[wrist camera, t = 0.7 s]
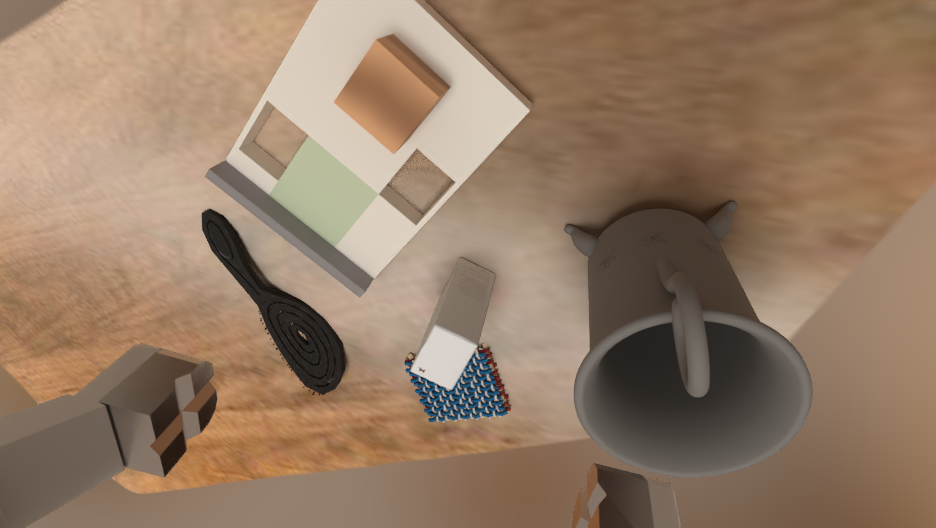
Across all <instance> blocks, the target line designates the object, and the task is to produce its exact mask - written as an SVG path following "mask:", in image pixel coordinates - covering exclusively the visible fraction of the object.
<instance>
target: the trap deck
mask: <svg viewBox="0 0 936 528" xmlns="http://www.w3.org/2000/svg"><path fill="white" fill-rule="evenodd" d="M391 34H394V35H395V36H396V37H397V38H398V39H399V40H401V41H402V42H403V43H404V44H405V45H406V46H407V47H408V48H409V49H410V50H411V51H412V52H414V53H415V54H416V55H417V56H418V57H419V58H420V59H421V60H422V61H423V62H424V63H425V64H426V65H428V66H429V67H430V68H431V69H432V70H433V71H434V72H435V73H436V74H437V75H438V76H439V77H440V78H442V79H443V80H444V81H445V82H446V83H447V84H448V85H449V86H450V87H451V88H450V89H449V90H448V91H447V92H446V94H445V95H444V96H443V97H442V99H441V100H440V101H439V102H438V104H437V105H436V106H435V107H434V109H433V110H432V111H431V112H430V114H429V115H428V116H427V117H426V119H425V120H424V121H423V122H422V123H421V125H420V126H419V127H418V128H417V130H416V131H415V132H414V133H413V135H412V136H411V137H410V138H409V140H408V141H407V142H406V143H405V144H404V145H403V146H402V147H401V148H400V149H399V150H398V151H397V152H396V153H395V154H393V153H391V152H390V151H389V150H388V149H387V148H386V147H385V146H383V145H382V144H381V143H380V142H379V141H378V140H376V139H375V138H374V137H373V136H372V135H371V134H370V133H368V132H367V131H366V130H365V129H364V128H363V127H361V126H360V125H359V124H358V123H357V122H356V121H355V120H353V119H352V118H351V117H350V116H349V115H348V114H346V113H345V112H344V111H343V110H342V109H341V108H340V107H338V106H337V105H336V104H335V103H334V101H335V99H336V98H337V96H338V95H339V93H340V92H341V90H342V89H343V88H344V86H345V85H346V83H347V82H348V80H349V79H350V77H351V76H352V74H353V73H354V71H355V70H356V68H357V67H358V65H359V64H360V62H361V61H362V59H363V58H364V56H365V55H366V53H367V52H368V50H369V49H370V47H371V46H372V44H373V43H374V42H375V40H376V39H378V38H381V37H384V36H388V35H391ZM274 107H276V108H277V109H278V110H279V111H280V112H281V113H283V114H284V115H285V116H286V117H287V118H289V119H290V120H291V121H292V122H293V123H295V124H296V125H297V126H298V127H299V128H301V129H302V130H303V131H304V132H305V133H306V134H308V135H309V136H308V137H307V139H306V140H305V142H304V143H303V145H302V146H301V148H300V149H299V151H298V152H297V154H296V155H295V157H294V158H293V160H292V161H291V163H290V164H289V166H288V167H287V169H286V168H285V167H284V166H283V165H281V164H280V163H279V162H278V161H276V160H275V159H274V158H273V157H272V156H270V155H269V154H268V153H267V152H265V151H264V150H263V149H262V148H260V147H259V146H258V145H257V144H256V143H254V142H253V141H254V139H255V138H256V136H257V134H258V133H259V131H260V129H261V128H262V126H263V124H264V123H265V121H266V119H267V118H268V116H269V114H270V113H271V111H272V109H273V108H274ZM531 107H532V103H531V102H530V101H529V100H528V99H527V98H526V97H525V96H524V95H523V94H522V93H521V92H520V91H519V90H518V89H517V88H515V87H514V86H513V85H512V84H511V83H510V82H509V81H508V80H507V79H506V78H505V77H504V76H503V75H502V74H501V73H500V72H499V71H498V70H497V69H496V68H495V67H494V66H493V65H492V64H490V63H489V62H488V61H487V60H486V59H485V58H484V57H483V56H482V55H481V54H480V53H479V52H478V51H477V50H476V49H475V48H474V47H473V46H472V45H471V44H470V43H469V42H468V41H467V40H465V39H464V38H463V37H462V36H461V35H460V34H459V33H458V32H457V31H456V30H455V29H454V28H453V27H452V26H451V25H450V24H449V23H448V22H447V21H446V20H445V19H444V18H443V17H442V16H440V15H439V14H438V13H437V12H436V11H435V10H434V9H433V8H432V7H431V6H430V5H429V4H428V3H427V2H426V1H425V0H318V2H317V4H316V5H315V7H314V9H313V10H312V12H311V14H310V16H309V17H308V19H307V21H306V22H305V24H304V26H303V28H302V29H301V31H300V33H299V35H298V36H297V38H296V40H295V41H294V43H293V45H292V47H291V48H290V50H289V52H288V53H287V55H286V57H285V59H284V60H283V62H282V64H281V66H280V67H279V69H278V71H277V72H276V74H275V76H274V78H273V79H272V81H271V83H270V84H269V86H268V88H267V90H266V91H265V93H264V95H263V97H262V98H261V100H260V102H259V103H258V105H257V107H256V109H255V110H254V112H253V114H252V115H251V117H250V119H249V121H248V122H247V124H246V126H245V128H244V129H243V131H242V133H241V134H240V136H239V138H238V140H237V141H236V143H235V145H234V146H233V148H232V150H231V152H230V153H229V155H228V157H227V159H226V160H225V161H223V162H222V163H220V164H218V165H216V166H214V167H212V168H210V169H209V170H208V172H207V174H206V176H205V177H206V178H207V179H209V180H210V181H211V182H212V183H214V184H215V185H216V186H218V187H219V188H220V189H221V190H223V191H224V192H225V193H227V194H228V195H229V196H230V197H232V198H233V199H234V200H236V201H237V202H238V203H239V204H241V205H242V206H243V207H244V208H246V209H247V210H248V211H250V212H251V213H252V214H253V215H255V216H256V217H257V218H259V219H260V220H261V221H262V222H264V223H265V224H266V225H268V226H269V227H270V228H271V229H273V230H274V231H275V232H277V233H278V234H279V235H280V236H282V237H283V238H284V239H285V240H287V241H288V242H289V243H291V244H292V245H293V246H294V247H296V248H297V249H298V250H300V251H301V252H302V253H303V254H305V255H306V256H307V257H309V258H310V259H311V260H312V261H314V262H315V263H316V264H318V265H319V266H320V267H321V268H323V269H324V270H325V271H326V272H328V273H329V274H330V275H332V276H333V277H334V278H335V279H337V280H338V281H339V282H341V283H342V284H343V285H344V286H346V287H347V288H348V289H350V290H351V291H352V292H353V293H355V294H356V295H357V296H358V297H361V296H362V295H363V294H364V292H365V291H366V290H367V288H368V287H369V285H370V284H371V282H372V281H373V279H374V278H375V277H376V276H377V275H378V274H379V273H380V272H381V270H382V269H383V268H384V267H385V266H386V265H387V264H388V263H389V262H390V261H391V260H392V259H393V258H394V257H395V255H396V254H397V253H398V252H399V251H400V250H401V249H402V248H403V247H404V246H405V245H406V244H407V243H408V241H409V240H410V239H411V238H412V237H413V236H414V235H415V234H416V233H417V232H418V231H419V230H420V229H421V227H422V226H423V225H424V224H425V223H426V222H427V221H428V220H429V219H430V218H431V217H432V216H433V215H434V214H435V212H436V211H437V210H438V209H439V208H440V207H441V206H442V205H443V204H444V203H445V202H446V201H447V200H448V198H449V197H450V196H451V195H452V194H453V193H454V192H455V191H456V190H457V189H458V188H459V187H460V186H461V184H462V183H463V182H464V181H465V180H466V179H467V178H468V177H469V176H470V175H471V174H472V173H473V172H474V171H475V169H476V168H477V167H478V166H479V165H480V164H481V163H482V162H483V161H484V160H485V159H486V158H487V157H488V155H489V154H490V153H491V152H492V151H493V150H494V149H495V148H496V147H497V146H498V145H499V144H500V143H501V141H502V140H503V139H504V138H505V137H506V136H507V135H508V134H509V133H510V132H511V131H512V130H513V129H514V128H515V126H516V125H517V124H518V123H519V122H520V121H521V120H522V119H523V118H524V117H525V116H526V115H527V114H528V112H529V111H530V110H531ZM416 149H418V150H419V151H421V152H422V153H423V154H424V155H425V156H426V157H427V158H428V159H430V160H431V161H432V162H433V163H434V164H435V165H436V166H438V167H439V168H440V169H441V170H442V171H443V172H444V173H446V174H447V175H448V176H449V177H450V178H451V179H452V180H453V183H452V184H451V185H450V186H449V187H448V188H447V189H446V190H445V191H444V192H443V193H442V195H441V196H440V197H439V198H438V199H437V200H436V201H435V202H434V203H433V204H432V205H431V207H430V208H429V209H428V210H427V211H426V212H425V213H424V214H421V213H420V212H419V211H418V210H417V209H415V208H414V207H413V206H412V205H411V204H410V203H408V202H407V201H406V200H405V199H404V198H402V197H401V196H400V195H399V194H398V193H397V192H395V191H394V190H393V189H392V188H391V187H390V186H388V185H387V184H388V183H389V182H390V181H391V180H392V178H393V177H394V176H395V175H396V174H397V172H398V171H399V170H400V169H401V168H402V166H403V165H404V164H405V163H406V161H407V160H408V159H409V158H410V157H411V155H412V154H413V153H414V152H415V151H416Z"/></svg>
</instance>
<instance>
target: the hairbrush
mask: <svg viewBox="0 0 936 528" xmlns="http://www.w3.org/2000/svg"><path fill="white" fill-rule="evenodd" d="M220 215H221V214H220ZM220 215H219V213H217V212H216V211H213V210H211V209H209V210H207V211H205V212H203V213H202V230H203V232H204V234H205V236H206V239H207V241H208V243H209V245H210V247H211V250H212V251H213V253H214V254H215V255H216V256H217V257H218V259H219V260H220V261H221V262H222V263H223V265H224V266H225V267H226V268H227V269H228V270H229V272H230V273H231V274H232V275H233V276H234V278H235V279H236V280H237V281H238V282H239V283H240V285H241V286H242V287H243V288H244V289H245V291H246V292H247V293H248V294H249V295H250V296H251V298H252V299H253V300H254V302H255V303H256V304H257V305H258V307H259V310H260V311H259V312H261V313H260V314H262V317H263V319H264V322H265V324H266V327H267V328H265V330H266V329H268V331H269V332H268V333H270V335H271V336H272V338H273V340H274V342H275V343H276V345H277V347H278V348H276V349H277V350H278V349H279V350H280V352H281V354H282V355H283V357H284V358H285V360H286V361H287V363H288V364H289V366H290V367H291V371H292V370H293V371H294V372H295V374H296V375H297V376H298V377H299V379H300V380H301V381H302V382H303V384H304V385H305V386H306V387H308V388H310V389H312V390H314V391H316V392H318V393H320V394H325V393H327V392H330V391H332V390H334V389H335V388H336V387H337V386H338V384H339V383H340V381H341V379H342V376H343V373H344V371H345V365H344V355H343V346H342V342H341V341H340V339H339V337H338V336H337V334H336V333H335V332H334V330H333V329H332V327H331V326H330V325H329V324H328V323H327V321H326V320H325V319H324V318H323V317H322V316H321V315H319V314H318V313H317V312H316V311H315V310H314V309H313V308H311V307H310V306H309V305H307V304H306V303H304V302H303V301H302V300H300V299H298V298H296V297H293V296H291V295H288V294H285V293H283V292H280V291H277V290H274V289H271V288H268V287H266V286H264V285H263V283H262V282H261V280H260V279H259V277H258V276H257V275H256V273H255V272H254V270H253V269H252V267H251V266H250V265H249V263H248V262H247V259H246V257H245V255H244V252H243V250H242V247H241V245H240V243H239V240H238V238H237V236H236V234H235V232H234V231H233V229H232V227H231V226H230V224H229V223H228V221H227V220H226V218H225V217H224V216H223V215H221V216H222V217H223V218H224V219H223V218H222V217H221V216H220ZM211 220H212V221H211ZM294 298H295V299H294ZM296 299H298V300H300V301H302V302H303V303H302V302H300V301H298V300H296ZM272 303H273V304H272ZM280 311H282V312H281V313H280ZM279 313H280V314H279ZM261 319H262V318H261ZM261 321H262V320H261ZM292 322H293V324H292V325H291V323H292ZM262 324H263V323H262ZM297 330H298V331H300V332H302V334H305V336H306V339H307V340H308V341H306V340H305V339H303V337H304V336H303V337H302V336H301V335H300V334H299V332H298V331H297ZM268 333H267V335H268ZM270 340H271V338H270ZM308 342H309V343H308ZM273 345H274V344H273ZM281 354H280V355H281ZM282 359H283V358H282ZM283 361H284V359H283ZM319 361H320V362H319ZM288 364H287V366H288ZM290 367H289V368H290ZM327 371H328V373H327ZM334 372H335V373H334ZM326 373H327V374H326ZM325 374H326V375H325ZM333 375H334V377H333ZM332 377H333V378H332ZM331 378H332V380H331V381H330V379H331ZM329 381H330V382H329ZM328 382H329V383H328ZM303 388H304V387H303ZM309 391H310V390H309ZM313 393H315V392H313ZM320 394H319V396H320ZM312 395H314V394H312Z"/></svg>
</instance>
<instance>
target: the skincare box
mask: <svg viewBox="0 0 936 528" xmlns="http://www.w3.org/2000/svg"><path fill="white" fill-rule="evenodd" d="M495 277H496V275H495V274H494V273H492V272H490V271H488V270H486V269H484V268H482V267H480V266H478V265H475V264H473V263H471V262H469V261H467V260H465V259H463V258H460V259H459V261H458V263H457V265H456V267H455V269H454V271H453V273H452V275H451V277H450V279H449V281H448V283H447V284H446V287H445V289H444V291H443V293H442V295H441V297H440V298H439V301H438V303H437V306H436V308H435V310H434V313H433V315H432V318H431V320H430V323H429V325H428V328H427V330H426V333H425V335H424V337H423V340H422V342H421V345H420V347H419V350H418V352H417V354H416V357H415V359H414V362H413V364H412V367H411V370H410V371H411V372H412V373H415V374H417V375H419V376H421V377H424V378H426V379H428V380H430V381H432V382H434V383H436V384H439V385H441V386H443V387H445V388H448V389H450V390H452V389H453V387H454V386H455V384H456V383H457V381H458V379H459V378H460V376H461V375H462V373H463V371H464V369H465V367H466V365H467V364H468V362H469V360H470V359H471V357H472V355H473V353H474V352H475V350H476V348H477V347H478V344H479V340H480V336H481V332H482V328H483V325H484V321H485V317H486V313H487V309H488V305H489V301H490V297H491V293H492V289H493V285H494V281H495Z"/></svg>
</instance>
